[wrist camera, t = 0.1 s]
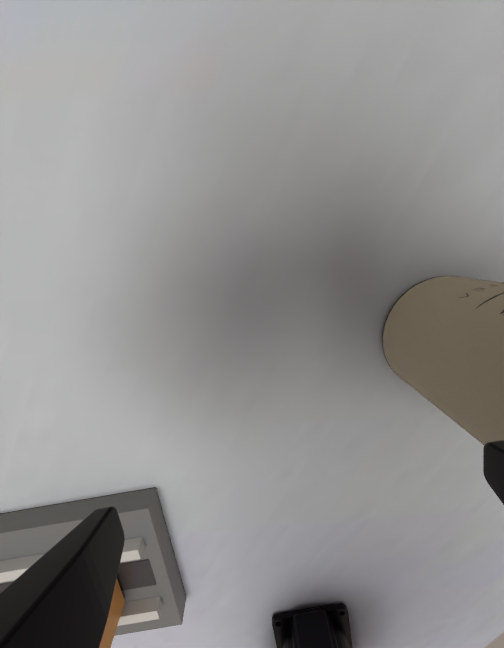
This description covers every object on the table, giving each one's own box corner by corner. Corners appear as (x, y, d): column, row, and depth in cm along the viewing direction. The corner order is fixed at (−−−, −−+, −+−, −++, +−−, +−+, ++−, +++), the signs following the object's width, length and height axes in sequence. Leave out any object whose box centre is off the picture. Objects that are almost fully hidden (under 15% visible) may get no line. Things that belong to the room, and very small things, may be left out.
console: (186, 599, 27) (180, 642, 24) (-69, 642, 27) (-107, 690, 24) (154, 484, 24) (142, 516, 21) (-130, 532, 24) (-180, 570, 21)
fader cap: (125, 602, 24) (98, 683, 19) (85, 608, 24) (50, 691, 19) (110, 559, 23) (79, 635, 19) (69, 566, 23) (28, 643, 19)
